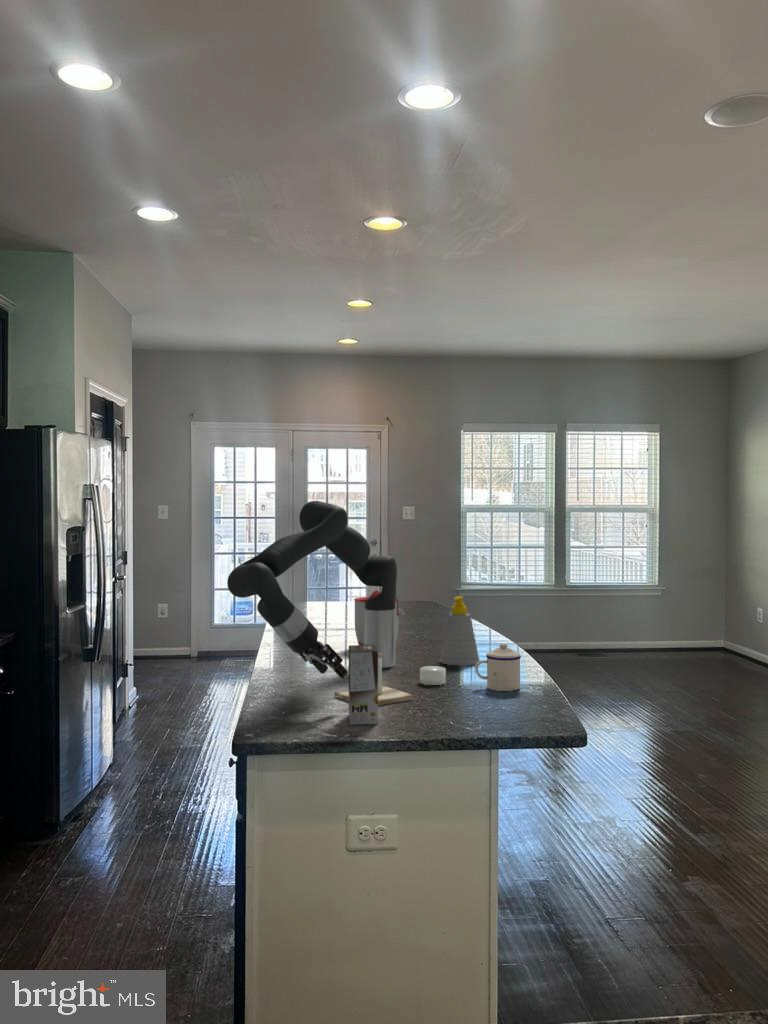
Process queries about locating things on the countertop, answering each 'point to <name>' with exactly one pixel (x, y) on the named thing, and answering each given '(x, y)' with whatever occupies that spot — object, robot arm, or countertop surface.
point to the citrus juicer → (361, 617)
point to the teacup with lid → (502, 669)
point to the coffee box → (363, 684)
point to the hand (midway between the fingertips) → (334, 673)
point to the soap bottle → (459, 638)
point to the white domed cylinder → (432, 675)
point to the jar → (380, 673)
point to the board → (382, 696)
